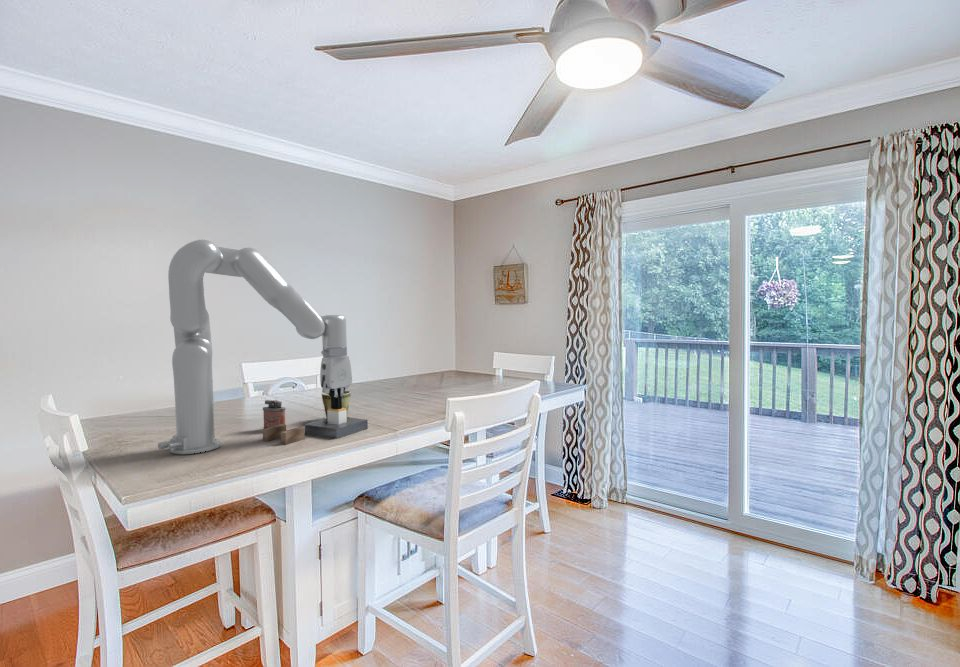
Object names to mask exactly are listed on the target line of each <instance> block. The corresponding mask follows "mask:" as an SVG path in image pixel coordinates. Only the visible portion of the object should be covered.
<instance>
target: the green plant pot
mask: <svg viewBox="0 0 960 667" xmlns="http://www.w3.org/2000/svg"><path fill="white" fill-rule="evenodd" d="M351 393H352V392H351V391H350V390H345V391H344V392H343V396H341V397H342V408H346V413H347V416H348V414H349V407H350V400H351V395H352V394H351ZM321 398H322V403H323V408H324V412H325V417H326V418H327V409H329V408H331V397H329V394H328V393H323V392H322V393H321ZM326 418H325V419H326Z"/></svg>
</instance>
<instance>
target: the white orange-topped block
mask: <svg viewBox="0 0 960 667" xmlns="http://www.w3.org/2000/svg"><path fill="white" fill-rule="evenodd" d="M347 417H348V415H347V413H346V408H342V409H332V408H329V409H327V419H328V424H335V425H339V424H342V423H346V422H347Z"/></svg>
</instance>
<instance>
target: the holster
mask: <svg viewBox="0 0 960 667" xmlns="http://www.w3.org/2000/svg"><path fill="white" fill-rule="evenodd" d="M276 438H277V439H280V441H281V442H280V444H281V443H282V444H281V445H285V444H286V445H289V443H290V444H292V443H295V442H299V441H302V440H305V427H303V426H298V427H294V428H291V429H287V424H285V425H284V424H281V425H277V426H273V427H269V428H265V429H262V441H263V440H264V441H265V442H270V441H272V440H277V439H276ZM269 440H270V441H269Z"/></svg>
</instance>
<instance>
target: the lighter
mask: <svg viewBox="0 0 960 667" xmlns="http://www.w3.org/2000/svg"><path fill="white" fill-rule="evenodd" d="M264 405H267V406H263V407H262V412H263V429H265V428H269V427H273V426H277V425H281V424H284V425H286V407H284V406H283V402H282V401H279V400H278V399H274V400H271V399H266V400H264ZM263 429H262V430H263Z"/></svg>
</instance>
